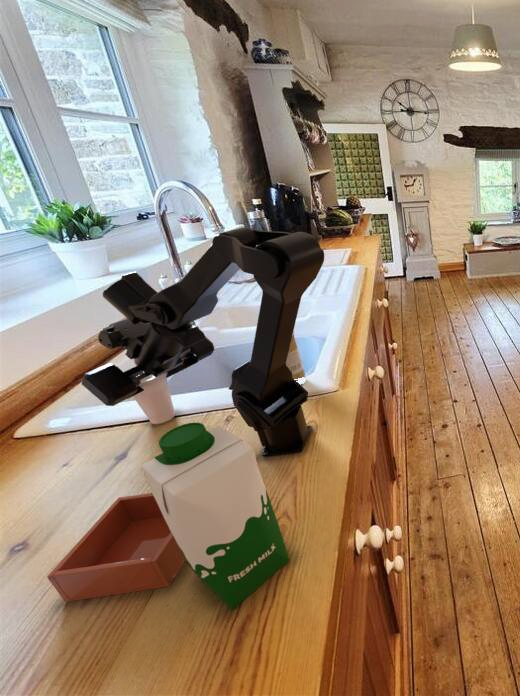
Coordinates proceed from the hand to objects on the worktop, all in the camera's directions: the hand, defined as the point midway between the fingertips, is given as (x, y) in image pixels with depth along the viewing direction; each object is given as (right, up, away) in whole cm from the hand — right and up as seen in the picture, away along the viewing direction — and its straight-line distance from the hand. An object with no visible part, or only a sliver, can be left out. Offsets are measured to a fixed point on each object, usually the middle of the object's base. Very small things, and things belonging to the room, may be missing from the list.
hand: (144, 386), depth 77 cm
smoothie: (+2, -7, +2) cm, 7 cm away
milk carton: (+36, -18, -27) cm, 49 cm away
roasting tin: (+22, -17, -24) cm, 37 cm away
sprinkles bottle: (+22, -2, +12) cm, 26 cm away
